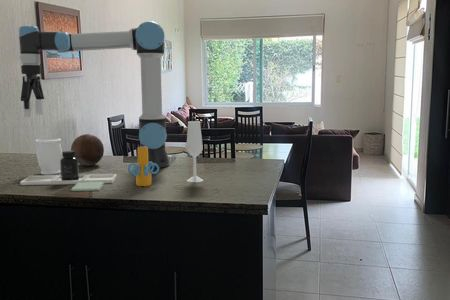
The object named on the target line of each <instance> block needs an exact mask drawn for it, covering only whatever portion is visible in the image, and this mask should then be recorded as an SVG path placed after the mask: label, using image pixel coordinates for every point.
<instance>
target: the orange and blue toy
mask: <svg viewBox="0 0 450 300" xmlns="http://www.w3.org/2000/svg"><path fill="white" fill-rule="evenodd" d="M137 161H138V165H137V164H136V163H133V162H132V163H129V165H128V166H127V172H128V173H129V174H131V175H133V176H135V185H136V186H137V187H141V186H144V187H149V186H152V182H153V181H152V174H153V175H156V174H157V173H159V171H160V168H159V166H158V165H157V164H155V163H153V162H148V147H147V146H140V145H139V146H137ZM150 163H151V164H150ZM149 164H150V165H149ZM154 165H155V166H156V167H157V168H156V170H155V171H154V169H155V168H154ZM132 166H133V167H132ZM151 166H152V168H150V167H151ZM131 167H132V169H130V168H131Z"/></svg>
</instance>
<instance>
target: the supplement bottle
mask: <svg viewBox="0 0 450 300" xmlns="http://www.w3.org/2000/svg"><path fill="white" fill-rule="evenodd" d="M60 165H61V166H60V171H61V172H60V175H61V180H62V181H65V180H79V175H80V174H79V173H80V172H79V163H78V159H77V158H76V157H75V151H71V150H64V151H63V150H62V159H61V160H60Z"/></svg>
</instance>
